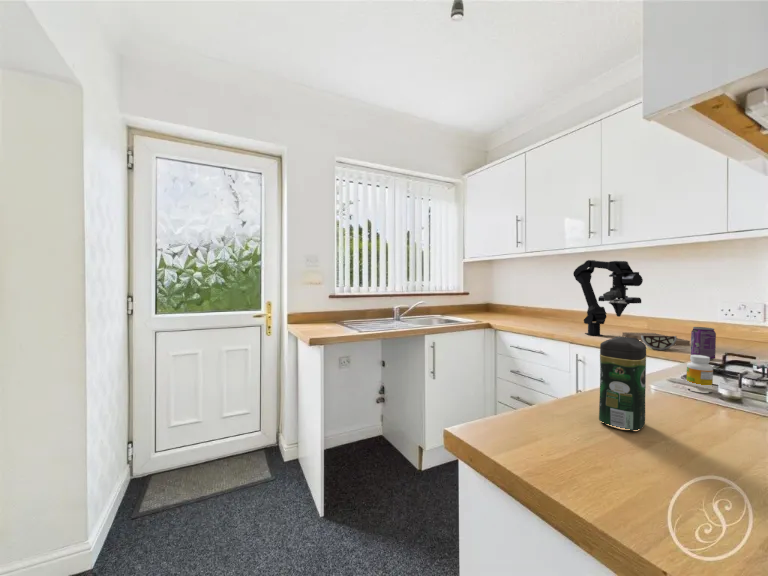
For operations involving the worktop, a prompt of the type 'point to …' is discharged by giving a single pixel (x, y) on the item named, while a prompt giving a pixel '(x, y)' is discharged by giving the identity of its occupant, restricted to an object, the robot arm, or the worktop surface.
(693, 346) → the beverage can
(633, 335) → the walnut chopping board
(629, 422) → the coffee jar
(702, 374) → the supplement bottle
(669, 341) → the food container
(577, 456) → the worktop surface
